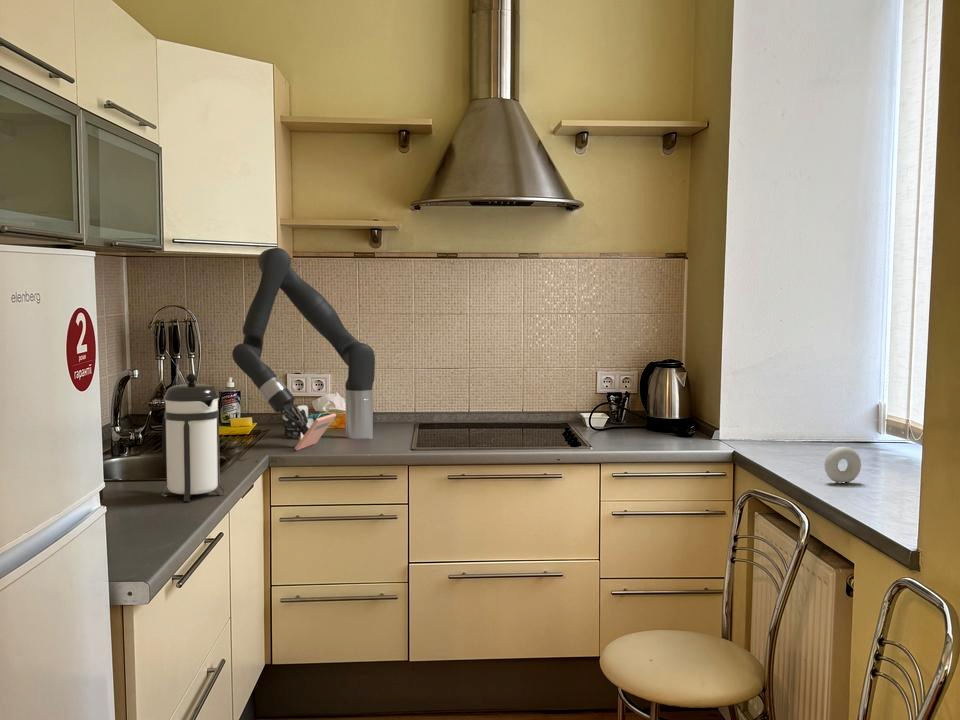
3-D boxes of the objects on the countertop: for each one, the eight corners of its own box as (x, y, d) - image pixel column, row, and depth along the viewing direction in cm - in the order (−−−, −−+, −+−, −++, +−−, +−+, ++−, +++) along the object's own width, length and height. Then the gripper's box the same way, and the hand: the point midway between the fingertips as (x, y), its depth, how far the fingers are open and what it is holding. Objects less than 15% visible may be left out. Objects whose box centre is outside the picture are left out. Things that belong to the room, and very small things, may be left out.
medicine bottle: (284, 440, 291) (283, 405, 291) (297, 437, 298) (297, 403, 297) (300, 442, 288) (300, 407, 287) (314, 439, 294) (314, 404, 294)
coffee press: (232, 487, 219) (231, 370, 217) (215, 502, 203) (213, 376, 201) (164, 488, 219) (161, 370, 216) (141, 502, 203) (138, 376, 200)
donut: (855, 481, 232) (857, 445, 231) (863, 484, 229) (864, 447, 228) (821, 482, 231) (822, 445, 230) (828, 485, 227) (829, 447, 226)
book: (313, 441, 280) (334, 413, 277) (316, 443, 279) (336, 415, 277) (294, 448, 266) (316, 419, 264) (296, 450, 266) (318, 421, 263)
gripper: (274, 389, 267) (308, 432, 265) (294, 385, 280) (327, 426, 278) (258, 404, 269) (292, 447, 267) (279, 399, 282) (311, 440, 279)
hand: (309, 436), depth 272 cm, fingers closed
